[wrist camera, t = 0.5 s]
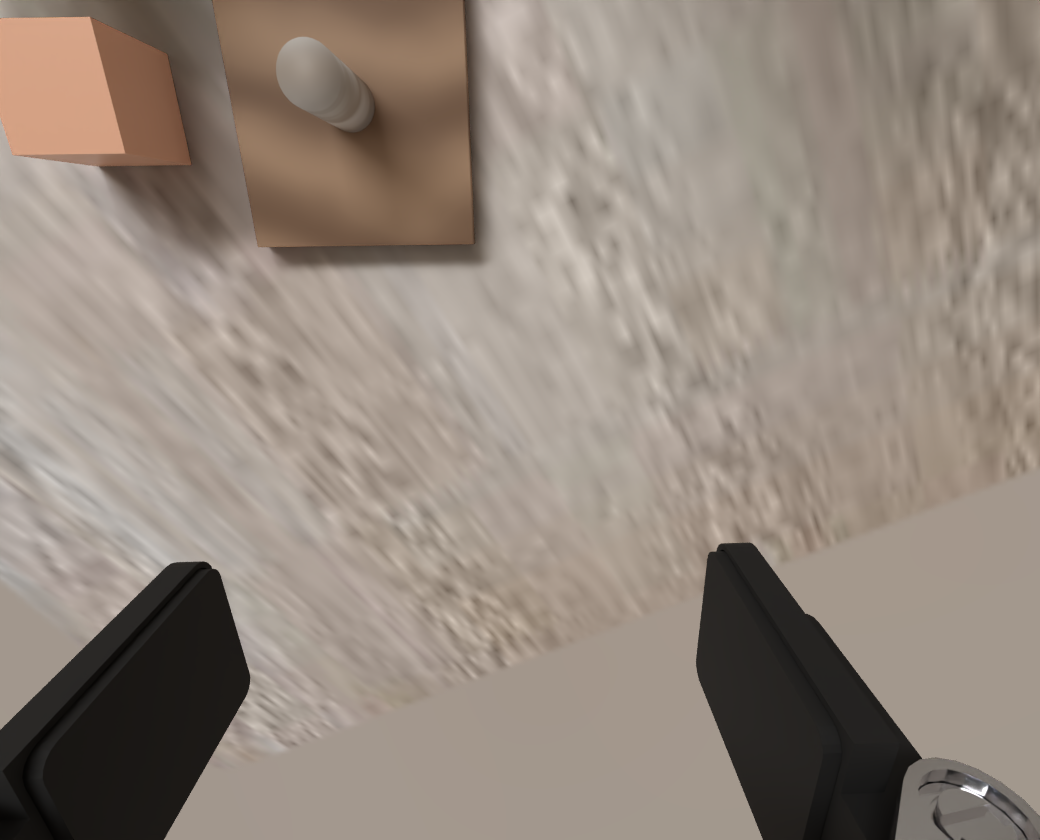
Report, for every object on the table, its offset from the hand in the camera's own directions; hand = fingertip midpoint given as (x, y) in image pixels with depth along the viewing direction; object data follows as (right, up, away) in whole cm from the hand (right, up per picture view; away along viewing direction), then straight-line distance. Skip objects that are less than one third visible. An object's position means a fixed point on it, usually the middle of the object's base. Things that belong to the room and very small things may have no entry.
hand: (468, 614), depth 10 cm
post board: (-9, +23, +22) cm, 33 cm away
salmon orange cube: (-23, +23, +22) cm, 39 cm away
